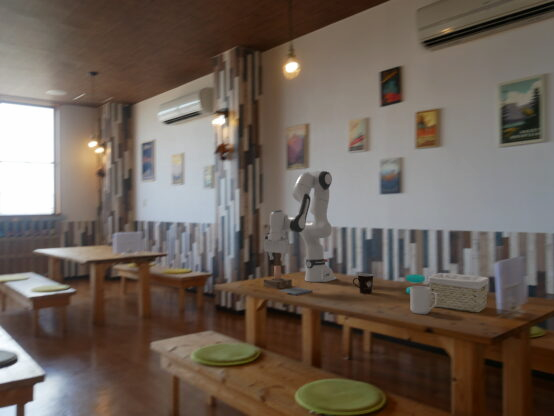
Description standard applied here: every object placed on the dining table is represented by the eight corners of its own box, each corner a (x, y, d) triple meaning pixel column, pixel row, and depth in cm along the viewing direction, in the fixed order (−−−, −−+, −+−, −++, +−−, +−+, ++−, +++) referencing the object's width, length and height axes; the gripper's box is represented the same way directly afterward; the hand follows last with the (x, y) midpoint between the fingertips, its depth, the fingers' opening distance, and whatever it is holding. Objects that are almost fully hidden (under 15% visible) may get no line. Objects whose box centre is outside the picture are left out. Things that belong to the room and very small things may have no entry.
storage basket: (490, 307, 212) (490, 276, 212) (480, 314, 199) (480, 281, 199) (439, 301, 227) (439, 272, 227) (427, 307, 215) (427, 276, 215)
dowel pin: (278, 285, 274) (277, 265, 274) (282, 286, 271) (282, 266, 271) (273, 286, 271) (272, 266, 271) (277, 287, 268) (277, 267, 268)
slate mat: (295, 288, 267) (295, 287, 267) (312, 292, 256) (312, 290, 256) (277, 292, 258) (277, 290, 258) (294, 295, 247) (294, 293, 247)
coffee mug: (372, 291, 256) (372, 273, 256) (374, 294, 247) (374, 276, 247) (352, 291, 257) (351, 273, 257) (353, 294, 248) (352, 276, 248)
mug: (407, 312, 205) (406, 288, 204) (415, 308, 211) (414, 285, 211) (433, 316, 197) (432, 291, 197) (440, 312, 204) (440, 288, 203)
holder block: (278, 285, 279) (278, 277, 279) (291, 287, 270) (291, 279, 270) (263, 287, 271) (263, 279, 271) (277, 290, 262) (276, 282, 262)
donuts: (421, 277, 240) (403, 275, 246) (421, 296, 240) (403, 294, 246) (427, 274, 249) (409, 273, 254) (427, 292, 249) (409, 291, 254)
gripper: (292, 237, 265) (292, 261, 265) (269, 236, 280) (269, 258, 280) (284, 238, 261) (284, 261, 261) (262, 236, 276) (262, 259, 276)
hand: (276, 260), depth 271 cm, fingers open, 8 cm apart
